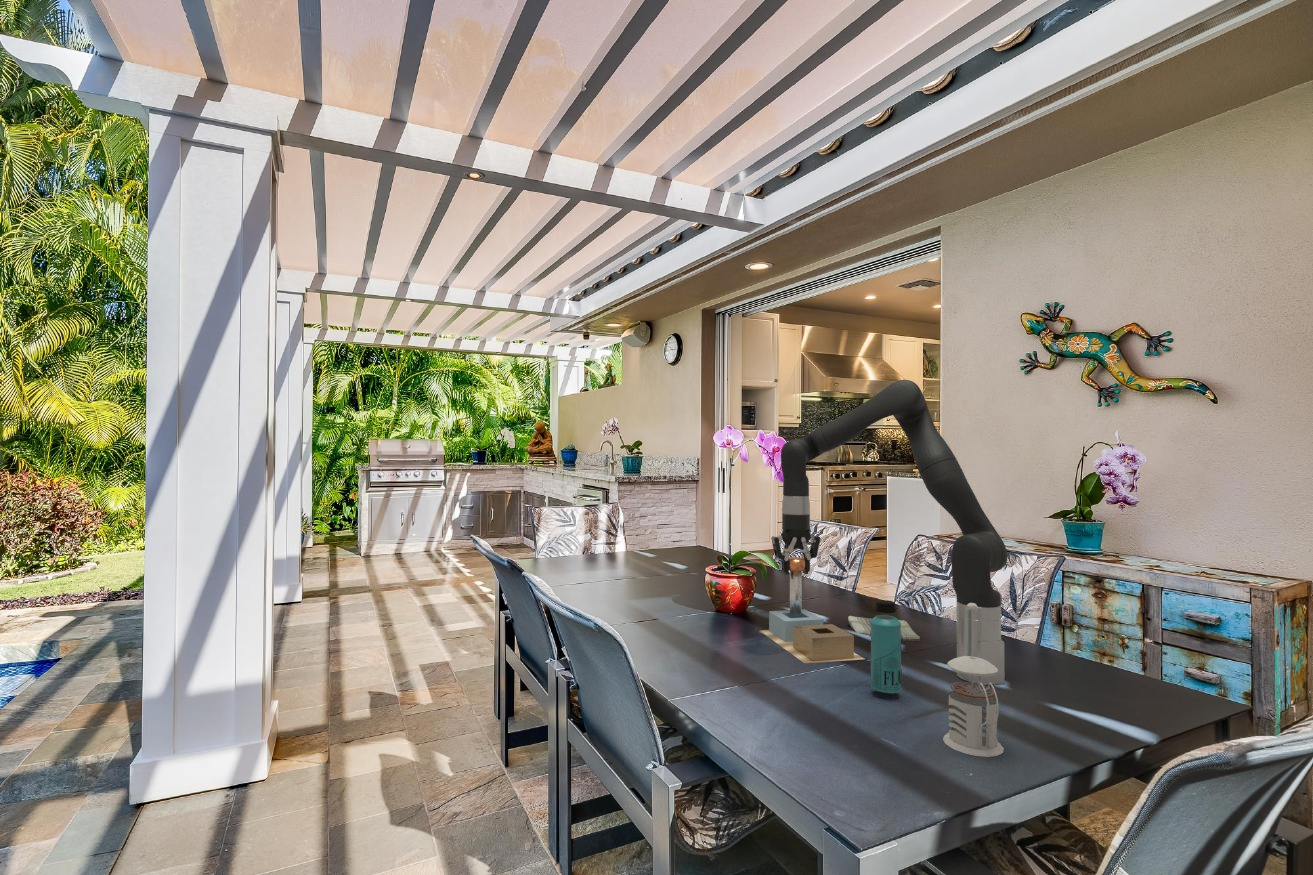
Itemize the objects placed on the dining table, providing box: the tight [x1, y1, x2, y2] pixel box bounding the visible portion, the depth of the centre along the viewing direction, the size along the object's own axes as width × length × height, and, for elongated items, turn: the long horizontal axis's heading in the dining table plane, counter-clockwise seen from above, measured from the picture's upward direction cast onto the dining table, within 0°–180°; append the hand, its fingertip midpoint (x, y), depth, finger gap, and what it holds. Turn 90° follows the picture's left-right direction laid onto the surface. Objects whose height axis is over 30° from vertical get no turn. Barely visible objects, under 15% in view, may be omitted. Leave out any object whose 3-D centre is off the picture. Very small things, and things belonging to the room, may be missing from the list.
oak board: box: [759, 629, 865, 664], centre depth 170 cm, size 29×16×2 cm, turn 12°
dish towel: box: [847, 615, 921, 642], centre depth 188 cm, size 19×18×3 cm
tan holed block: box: [793, 623, 855, 661], centre depth 162 cm, size 11×11×6 cm
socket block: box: [768, 609, 824, 642], centre depth 178 cm, size 11×11×6 cm
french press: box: [942, 603, 1005, 758], centre depth 115 cm, size 10×12×25 cm
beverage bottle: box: [869, 599, 903, 694], centre depth 138 cm, size 6×7×20 cm
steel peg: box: [788, 556, 805, 615], centre depth 178 cm, size 5×5×15 cm
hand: (795, 573), depth 178 cm, fingers closed on steel peg, 5 cm apart
